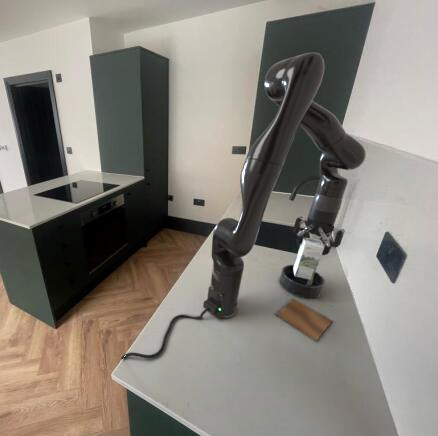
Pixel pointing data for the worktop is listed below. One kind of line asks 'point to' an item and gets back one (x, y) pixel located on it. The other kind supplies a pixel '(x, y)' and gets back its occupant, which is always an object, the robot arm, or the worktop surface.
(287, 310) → the coaster
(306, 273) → the syrup box
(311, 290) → the bowl
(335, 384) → the worktop surface
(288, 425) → the worktop surface
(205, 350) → the worktop surface
